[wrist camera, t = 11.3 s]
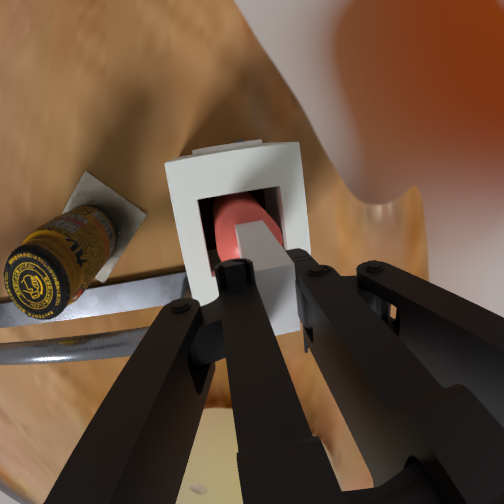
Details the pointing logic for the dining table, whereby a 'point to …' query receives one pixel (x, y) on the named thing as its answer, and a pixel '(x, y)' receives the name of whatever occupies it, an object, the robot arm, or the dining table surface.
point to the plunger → (238, 221)
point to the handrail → (93, 304)
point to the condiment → (71, 250)
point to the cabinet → (233, 181)
